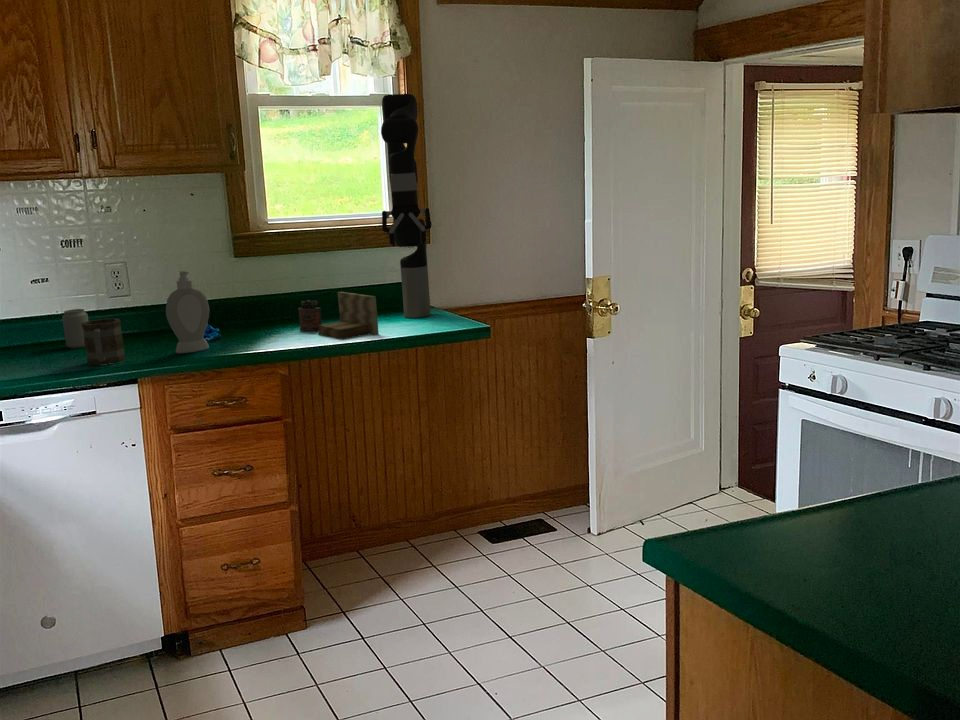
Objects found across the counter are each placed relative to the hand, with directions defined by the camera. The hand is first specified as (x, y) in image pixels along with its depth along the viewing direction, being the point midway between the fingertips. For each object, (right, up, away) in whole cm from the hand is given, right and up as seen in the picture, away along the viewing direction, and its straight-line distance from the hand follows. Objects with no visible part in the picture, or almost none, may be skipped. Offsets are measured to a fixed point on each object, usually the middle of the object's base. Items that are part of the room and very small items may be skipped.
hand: (408, 245), depth 274 cm
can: (-108, -30, +25) cm, 115 cm away
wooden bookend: (-21, -26, +21) cm, 40 cm away
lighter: (-34, -24, +31) cm, 52 cm away
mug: (-87, -35, -5) cm, 94 cm away
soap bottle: (-65, -31, +7) cm, 73 cm away
